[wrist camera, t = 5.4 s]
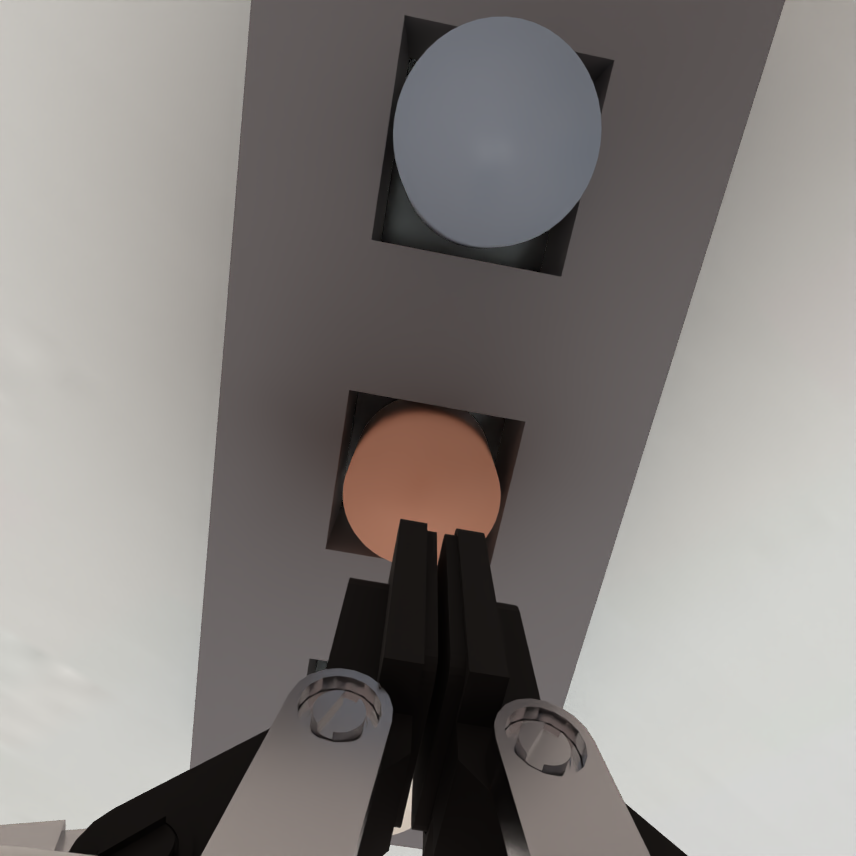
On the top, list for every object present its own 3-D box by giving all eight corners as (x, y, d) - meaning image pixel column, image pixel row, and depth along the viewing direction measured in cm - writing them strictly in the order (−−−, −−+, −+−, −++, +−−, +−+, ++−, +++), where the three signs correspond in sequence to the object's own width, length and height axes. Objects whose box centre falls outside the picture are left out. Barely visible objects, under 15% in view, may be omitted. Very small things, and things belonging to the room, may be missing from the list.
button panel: (728, 20, 16) (795, -33, 13) (504, 788, 24) (514, 862, 21) (295, -76, 15) (263, -155, 12) (216, 746, 23) (186, 816, 20)
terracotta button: (502, 408, 18) (516, 437, 15) (474, 530, 19) (482, 578, 17) (366, 384, 18) (354, 408, 15) (347, 509, 19) (332, 554, 16)
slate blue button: (587, 83, 14) (627, 41, 12) (545, 261, 16) (571, 263, 13) (416, 47, 14) (412, -5, 11) (387, 231, 15) (378, 225, 13)
